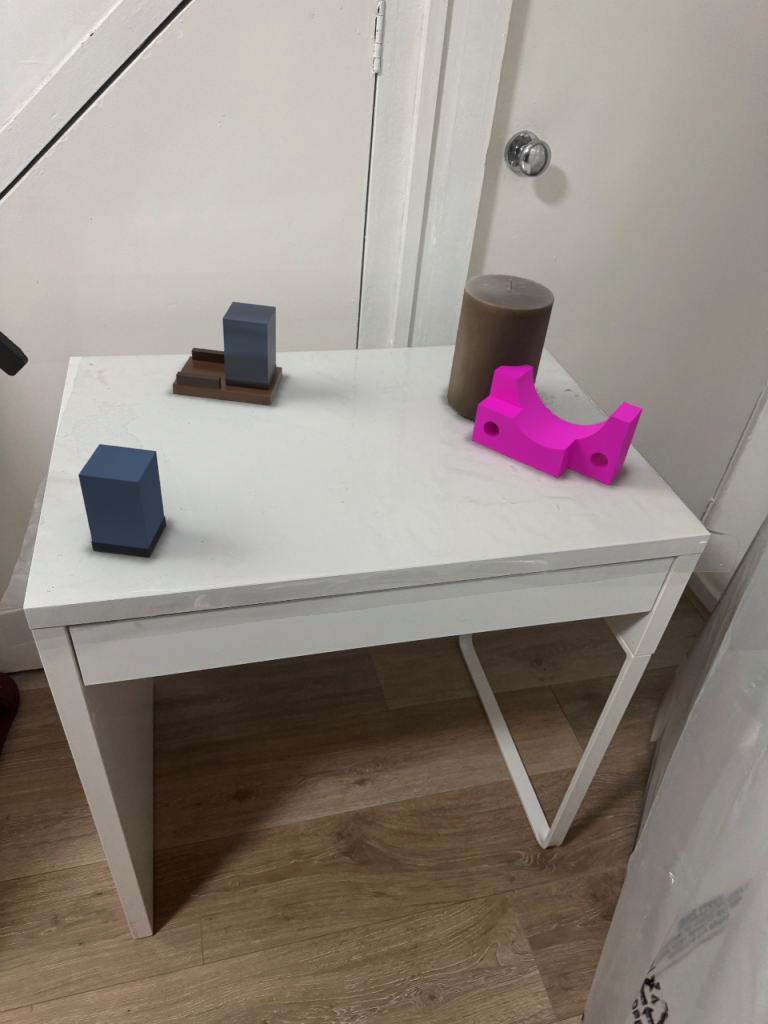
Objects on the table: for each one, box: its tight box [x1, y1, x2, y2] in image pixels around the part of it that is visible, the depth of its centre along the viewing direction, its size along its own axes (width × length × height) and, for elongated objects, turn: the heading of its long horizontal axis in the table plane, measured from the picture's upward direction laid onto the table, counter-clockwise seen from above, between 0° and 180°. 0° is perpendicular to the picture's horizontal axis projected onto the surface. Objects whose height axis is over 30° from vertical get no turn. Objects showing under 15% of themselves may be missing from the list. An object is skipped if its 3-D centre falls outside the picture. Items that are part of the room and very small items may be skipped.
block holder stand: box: [172, 301, 283, 406], centre depth 85 cm, size 7×11×9 cm, turn 85°
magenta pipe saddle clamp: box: [471, 365, 644, 486], centre depth 80 cm, size 15×6×8 cm, turn 55°
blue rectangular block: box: [78, 443, 167, 558], centre depth 64 cm, size 4×5×8 cm
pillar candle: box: [447, 273, 555, 421], centre depth 84 cm, size 10×10×15 cm
